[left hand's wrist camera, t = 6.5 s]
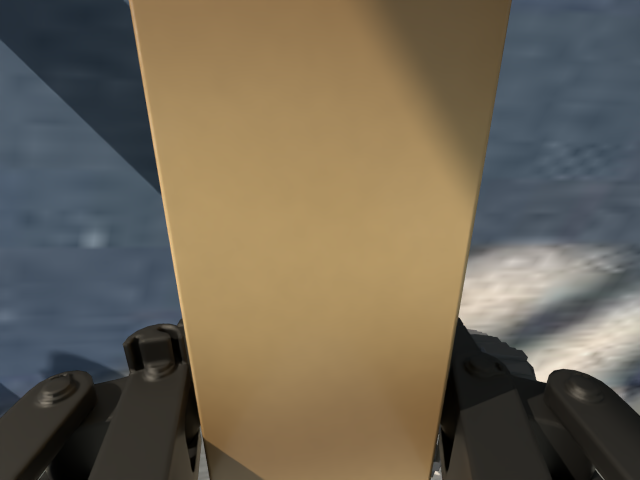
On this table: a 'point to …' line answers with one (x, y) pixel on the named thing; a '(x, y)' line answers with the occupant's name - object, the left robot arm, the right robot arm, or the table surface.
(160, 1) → the birch bar
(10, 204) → the table surface
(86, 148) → the table surface
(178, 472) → the left robot arm
